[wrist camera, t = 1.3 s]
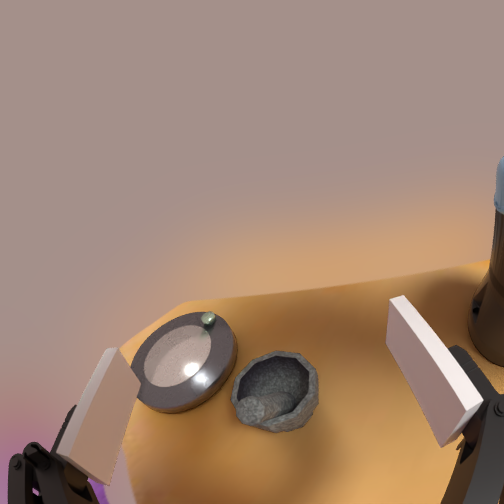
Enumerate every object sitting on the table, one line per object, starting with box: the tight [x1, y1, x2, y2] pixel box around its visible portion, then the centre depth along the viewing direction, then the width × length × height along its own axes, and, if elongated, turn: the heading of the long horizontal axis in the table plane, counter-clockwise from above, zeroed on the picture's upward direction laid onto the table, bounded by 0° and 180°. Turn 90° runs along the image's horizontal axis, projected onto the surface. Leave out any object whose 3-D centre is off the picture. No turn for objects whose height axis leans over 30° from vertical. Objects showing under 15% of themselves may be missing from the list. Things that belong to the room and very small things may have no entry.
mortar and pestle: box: [231, 351, 318, 433], centre depth 27 cm, size 11×9×12 cm
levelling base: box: [130, 311, 237, 413], centre depth 42 cm, size 20×20×4 cm
